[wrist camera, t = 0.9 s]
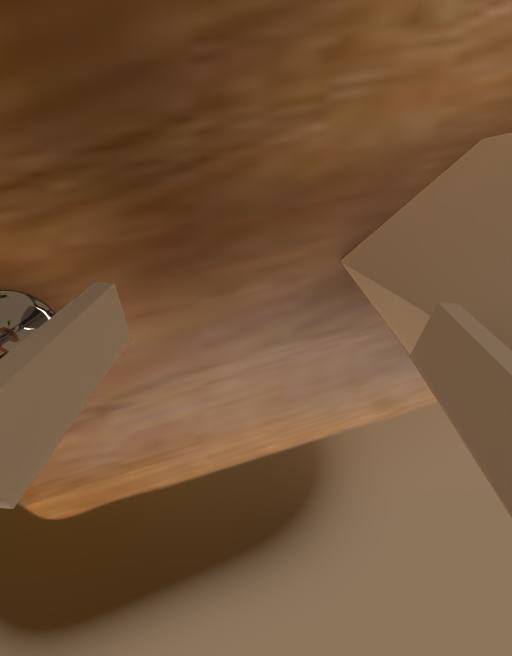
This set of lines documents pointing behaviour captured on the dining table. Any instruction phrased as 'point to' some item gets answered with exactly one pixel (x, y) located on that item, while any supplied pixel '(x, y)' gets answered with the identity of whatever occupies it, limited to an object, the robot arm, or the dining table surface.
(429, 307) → the pedestal
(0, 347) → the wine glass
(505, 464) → the robot arm
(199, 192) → the dining table surface
